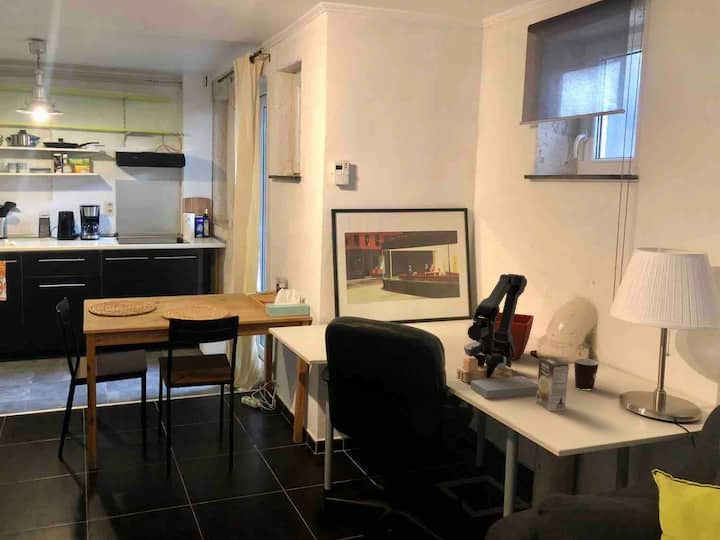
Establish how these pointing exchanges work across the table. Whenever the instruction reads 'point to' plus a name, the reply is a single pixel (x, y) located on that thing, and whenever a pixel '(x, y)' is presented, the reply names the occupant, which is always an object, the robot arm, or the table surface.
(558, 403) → the coffee box
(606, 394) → the table surface
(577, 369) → the coffee mug
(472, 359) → the orange cube
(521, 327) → the plant pot
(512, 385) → the dock
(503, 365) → the grey cube
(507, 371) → the wooden block
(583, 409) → the table surface
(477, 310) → the robot arm
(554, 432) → the table surface
